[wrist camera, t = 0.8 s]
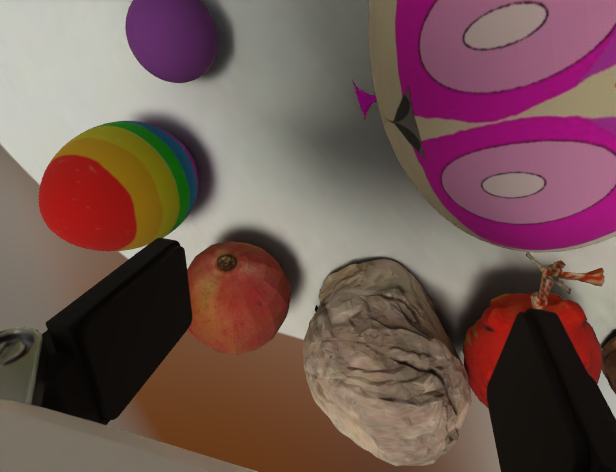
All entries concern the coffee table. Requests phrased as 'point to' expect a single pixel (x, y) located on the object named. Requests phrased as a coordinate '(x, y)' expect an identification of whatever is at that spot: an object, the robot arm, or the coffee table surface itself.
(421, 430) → the rock
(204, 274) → the fruit
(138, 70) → the coffee table surface
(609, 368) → the artifact
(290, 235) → the coffee table surface
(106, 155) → the decorative egg
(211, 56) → the purple ball
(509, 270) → the coffee table surface
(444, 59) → the toy
